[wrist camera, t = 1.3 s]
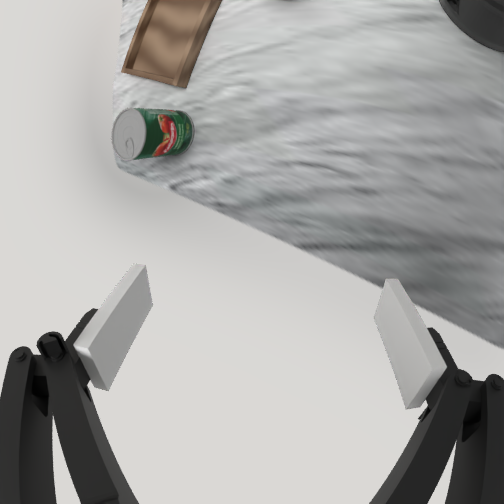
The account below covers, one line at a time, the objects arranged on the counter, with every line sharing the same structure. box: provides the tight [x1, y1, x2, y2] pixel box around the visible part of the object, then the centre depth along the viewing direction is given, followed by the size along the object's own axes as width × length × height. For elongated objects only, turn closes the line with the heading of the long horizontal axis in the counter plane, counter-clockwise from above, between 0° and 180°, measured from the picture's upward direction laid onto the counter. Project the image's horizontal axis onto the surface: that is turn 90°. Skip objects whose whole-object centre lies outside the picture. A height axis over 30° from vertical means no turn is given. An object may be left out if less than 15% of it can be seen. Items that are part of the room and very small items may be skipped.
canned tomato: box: [112, 108, 194, 161], centre depth 41 cm, size 8×8×11 cm
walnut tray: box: [121, 0, 222, 88], centre depth 38 cm, size 20×16×2 cm
